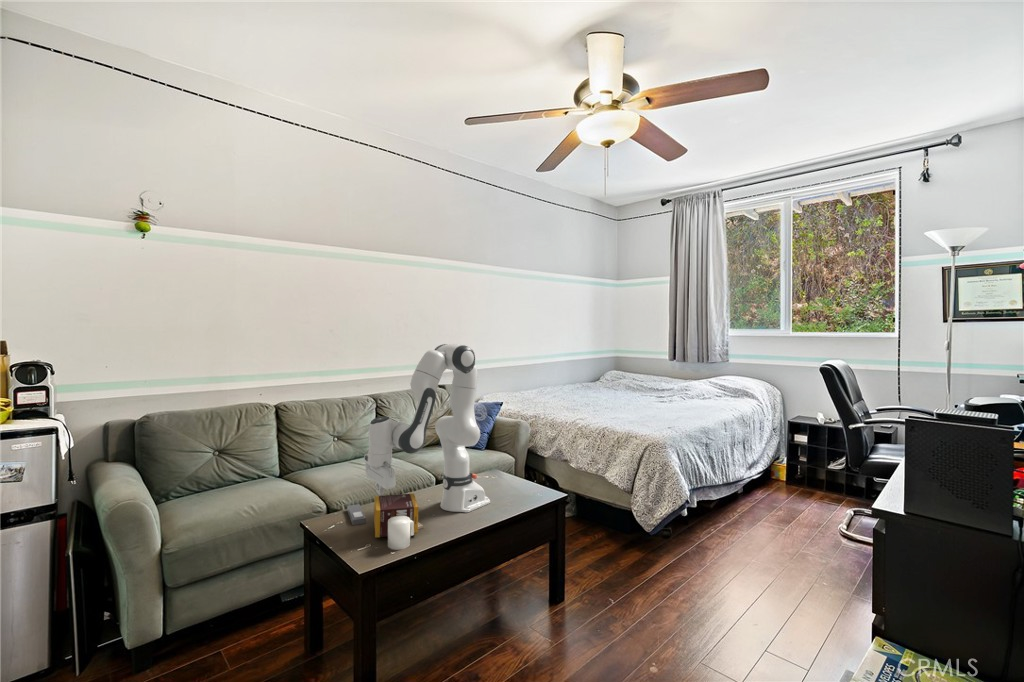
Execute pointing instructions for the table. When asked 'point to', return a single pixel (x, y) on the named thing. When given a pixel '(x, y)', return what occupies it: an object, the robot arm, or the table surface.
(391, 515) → the supplement box
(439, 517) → the table surface
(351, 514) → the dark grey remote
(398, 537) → the white mug
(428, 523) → the table surface
